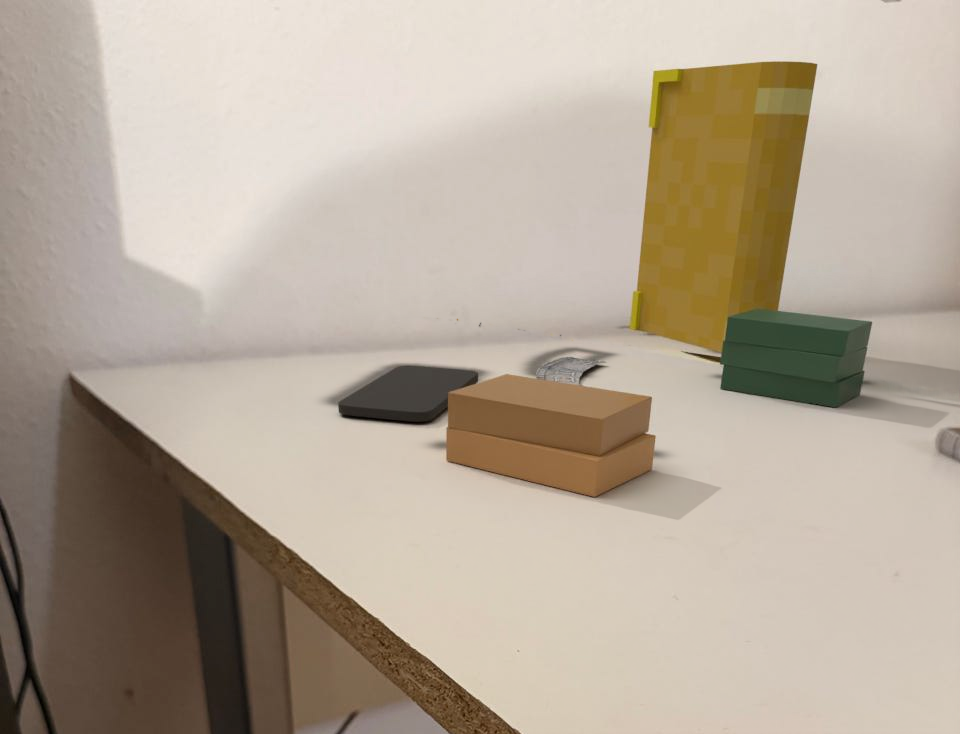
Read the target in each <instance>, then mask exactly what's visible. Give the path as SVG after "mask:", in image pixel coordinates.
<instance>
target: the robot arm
mask: <svg viewBox="0 0 960 734" xmlns="http://www.w3.org/2000/svg"><path fill="white" fill-rule="evenodd" d="M880 1H881V2H883V3H886V4H888V3H900V2H902V1H903V0H880Z"/></svg>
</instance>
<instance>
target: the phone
mask: <svg viewBox="0 0 960 734" xmlns="http://www.w3.org/2000/svg"><path fill="white" fill-rule="evenodd" d="M476 383H479V372H477V371H476V370H470V369H459V368H447V367H437V366H436V367H435V366H422V365H407V364H406V365H399V366H396V367H394V368H392V369H391V370H389V371H387V372H386V373H384V374H383V375H381V376H379V377H378V378H376V379H375V380H372V381H370V382H369V383H368V384H366V385H364V386H363V387H361V388H359V389H358V390H356V391H354V392H352V393H351V394H349V395H347V396H346V397H344V398H342V399H341V400H339V402H338V403H337V405H338V413H339V414H341V415H345V416H352V417H359V418H370V419H381V420H392V421H401V422H402V421H403V422H415V423H423V422H429V421H431V420H433V419H434V418H436V417H437V416H438V415H439V414H441V413H442V412H444V410H446V409H448V392H451V391H454V390H457V389H461V388H464V387H467V386H470V385H473V384H476Z"/></svg>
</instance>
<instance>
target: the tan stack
mask: <svg viewBox="0 0 960 734" xmlns="http://www.w3.org/2000/svg"><path fill="white" fill-rule="evenodd" d="M652 403H653V396H650V395H643V394H637V393H630V392H624V391H618V390H611V389H607V388H606V389H604V388H599V387H592V386H586V385H580V384H579V385H574V384H567V383H561V382H554V381H548V380H542V379H537V378H536V377H535V378H534V377H528V376H522V375H516V374H509V373H505V374H502V375H499V376H496V377H493V378H490V379H489V378H488V379H486V380H484V381H480V382H477V383H476V384H473V385H470V386H467V387H464V388H461V389H457V390H454V391H451V392H448V407H447V426H446V432H445V433H446V439H445V440H446V442H445V443H446V446H445V450H446V451H445V455H446V456H445V458H446V459H445V461H446V462H450V463H454V464H459V465H462V466H466V467H471V468H474V469H479V470H483V471H487V472H491V473H496V474H499V475H503V476H507V477H511V478H515V479H520V480H524V481H528V482H532V483H536V484H540V485H544V486H548V487H552V488H556V489H560V490H564V491H567V492H568V491H569V492H573V493H577V494H581V495H584V496H590V497H592V498H597V497H598V496H600V495H603V494H604V493H606V492H608V491H610V490H613V489H614V488H617V487H618V486H621V485H622V484H625V483H627V482H629V481H631V480H633V479H635V478H637V477H639V476H641V475H643V474H645V473H647V472H650V471H652V470H653V464H654V455H655V447H656V439H657V436H656V435H655V434H651V433H648V432H649V429H650V420H651V411H652Z"/></svg>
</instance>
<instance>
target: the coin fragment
mask: <svg viewBox="0 0 960 734" xmlns="http://www.w3.org/2000/svg"><path fill="white" fill-rule="evenodd" d="M599 364H607V361H604V360H597V359H595V358H593V359H585V358H578V357H573V356H562V357H559V358H555V359H552V360H551V361H547V362H545V363H544V364H542V365H540V367H539V368H538V369H537V370H536V373H535V378H536V379H542V380H548V381H554V382H561V383H567V384H574V385H580V383H579V382H580V378H581V376H582V375H583V373H584V372H586V371H587V370H589V369H591V368H593V367H595V366H596V365H599Z"/></svg>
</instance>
